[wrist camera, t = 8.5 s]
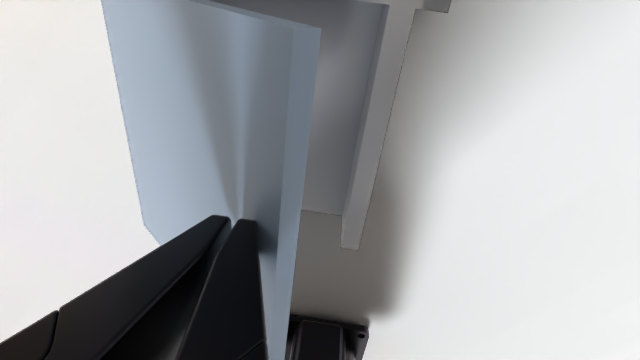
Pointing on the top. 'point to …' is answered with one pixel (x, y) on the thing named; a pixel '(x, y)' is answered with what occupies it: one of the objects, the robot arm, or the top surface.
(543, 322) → the top surface
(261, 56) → the panel
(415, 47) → the top surface
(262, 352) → the robot arm
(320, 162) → the grey tray
